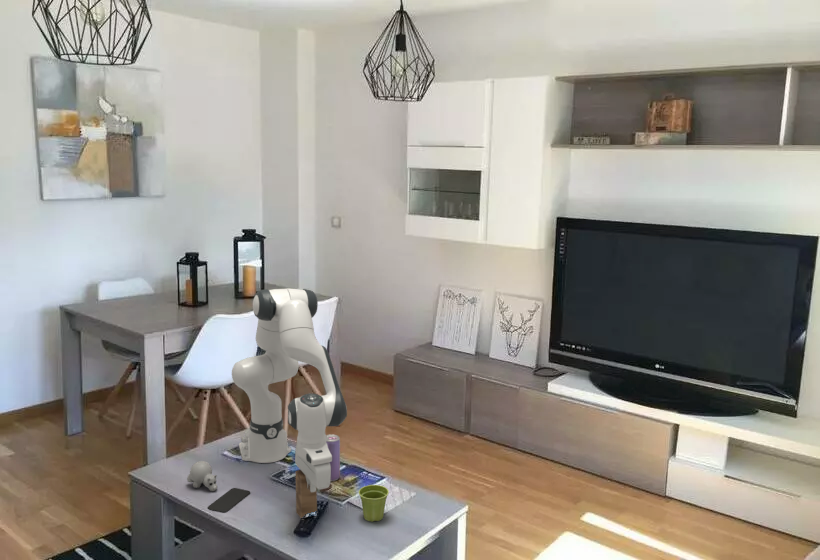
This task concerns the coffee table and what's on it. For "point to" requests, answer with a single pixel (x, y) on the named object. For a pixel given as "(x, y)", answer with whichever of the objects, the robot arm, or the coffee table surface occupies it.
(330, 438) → the beverage can
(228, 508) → the phone
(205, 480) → the round bodied animal figurine
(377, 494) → the plant pot
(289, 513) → the coffee table surface
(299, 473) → the walnut block
